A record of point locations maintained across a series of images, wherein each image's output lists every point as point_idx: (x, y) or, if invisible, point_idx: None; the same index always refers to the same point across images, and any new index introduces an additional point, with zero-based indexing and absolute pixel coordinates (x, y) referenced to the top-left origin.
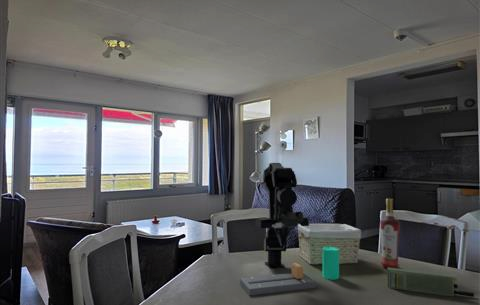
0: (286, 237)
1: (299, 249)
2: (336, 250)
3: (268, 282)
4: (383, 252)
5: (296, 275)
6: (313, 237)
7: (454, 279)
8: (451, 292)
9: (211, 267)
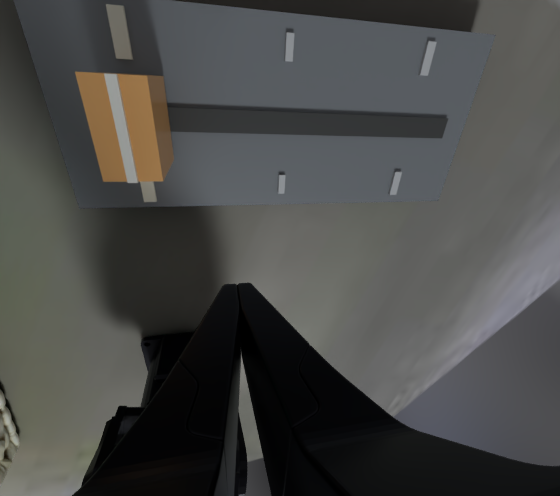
0: (192, 355)
1: (5, 473)
2: None
3: (352, 99)
4: None
5: (160, 81)
6: None
7: None
8: None
9: (413, 354)
